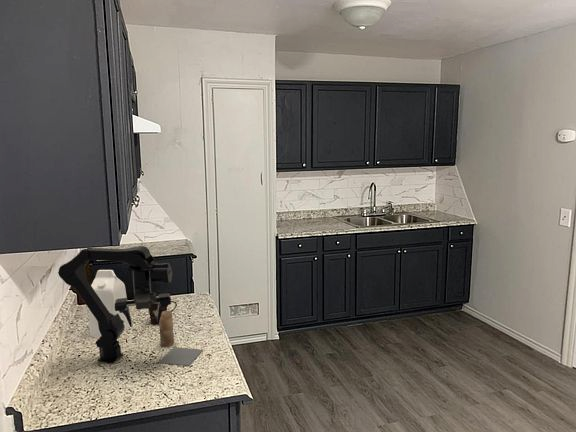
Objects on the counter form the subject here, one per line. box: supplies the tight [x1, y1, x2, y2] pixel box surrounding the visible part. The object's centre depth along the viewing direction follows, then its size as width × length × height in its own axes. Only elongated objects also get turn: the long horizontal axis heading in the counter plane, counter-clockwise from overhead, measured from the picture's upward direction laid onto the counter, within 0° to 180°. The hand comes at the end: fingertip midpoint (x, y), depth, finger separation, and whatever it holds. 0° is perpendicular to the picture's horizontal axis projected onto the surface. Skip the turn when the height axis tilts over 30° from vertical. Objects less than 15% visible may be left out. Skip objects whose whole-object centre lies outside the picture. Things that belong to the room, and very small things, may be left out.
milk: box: [88, 269, 130, 337], centre depth 186 cm, size 12×12×26 cm
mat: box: [157, 346, 204, 367], centre depth 164 cm, size 12×12×1 cm
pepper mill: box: [158, 310, 175, 348], centre depth 173 cm, size 5×5×12 cm
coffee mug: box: [148, 295, 178, 326], centre depth 195 cm, size 12×9×10 cm
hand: (144, 325), depth 160 cm, fingers open, 9 cm apart
